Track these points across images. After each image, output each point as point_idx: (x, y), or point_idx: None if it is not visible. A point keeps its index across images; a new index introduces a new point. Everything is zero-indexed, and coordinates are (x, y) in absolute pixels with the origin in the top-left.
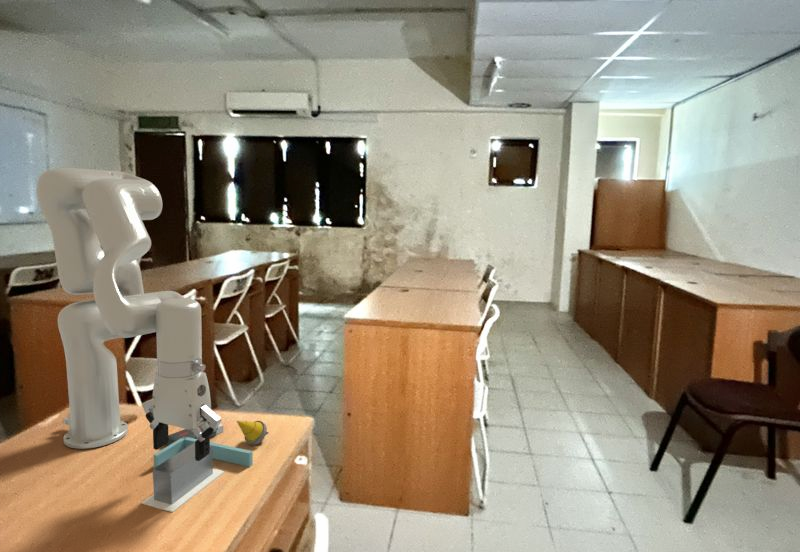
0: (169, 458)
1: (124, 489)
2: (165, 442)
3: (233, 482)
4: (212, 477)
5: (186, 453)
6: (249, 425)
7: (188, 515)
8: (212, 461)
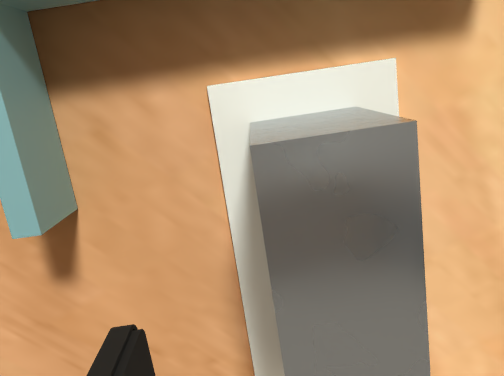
0: (49, 135)
1: None
2: (145, 363)
3: (500, 106)
4: None
5: (332, 296)
6: None
7: (482, 363)
8: (375, 111)
